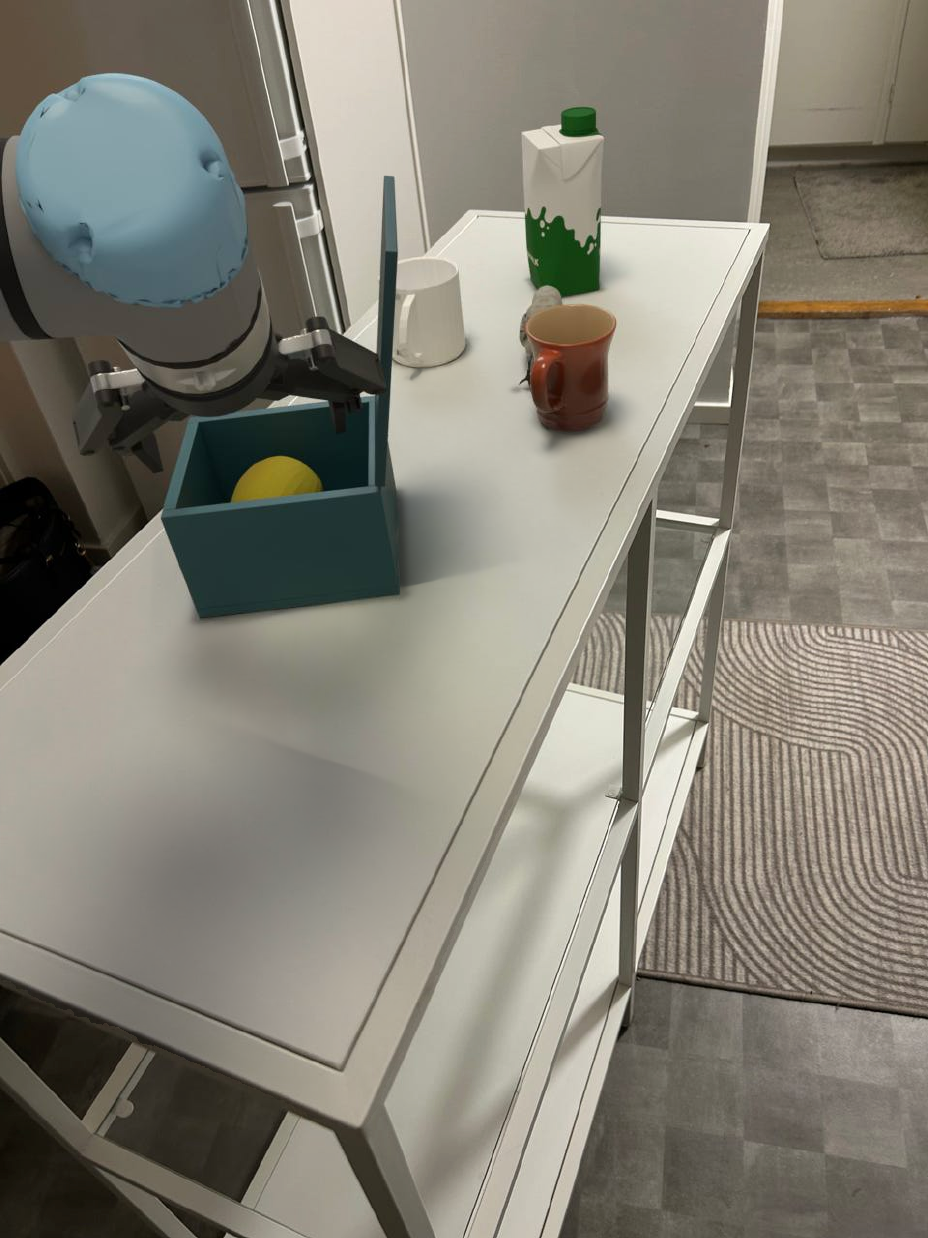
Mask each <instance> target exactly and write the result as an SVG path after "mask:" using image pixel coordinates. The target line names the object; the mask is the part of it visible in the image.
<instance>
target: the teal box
mask: <svg viewBox="0 0 928 1238" xmlns="http://www.w3.org/2000/svg"><path fill="white" fill-rule="evenodd" d="M360 398H361V402H362V406H363V410H362V411H361V412H358V413H354V414H348V411H347V410H345V423H346V432H345V433H340V434H336V432H335V428H334V424H333V419H332V415H331V411H330V407H329V403H328V401H326V400H324V401H319V402H310V403H309V402H308V403H300V404H294V405H293V404H292V405H284V406H276V407H275V406H274V407H269V408H268V407H267V408H259V409H258V408H257V409H251V410H250V409H249V410H240V411H237V412H234V413H231V414H228V415H224V416H218V417H200V416H192V417H189V418H188V421H187V425H186V428H185V431H184V435H183V440H182V442H181V446H180V449H179V452H178V456H177V459H176V463H175V466H174V469H173V473H172V477H171V480H170V484H169V487H168V490H167V493H166V497H165V501H164V504H163V508H162V511H161V516H160V520H161V523H162V526H163V528H164V531H165V533H166V536H167V538H168V542H169V544H170V546H171V549H172V552H173V554H174V556H175V559H176V561H177V564H178V566H179V570H180V572H181V574H182V577H183V580H184V582H185V584H186V587H187V590H188V593H189V594H190V597H191V600H192V602H193V605H194V608H195V610H196V612H197V615H198V618H199V619H202V618H203V619H205V618H212V617H221V616H229V615H230V616H231V615H237V614H245V613H255V612H264V611H271V610H281V609H289V608H297V607H307V606H315V605H323V604H331V603H340V602H341V603H342V602H348V601H359V600H366V599H375V598H385V597H391V596H399V595H400V594H401V591H400V590H401V588H400V587H401V586H400V553H399V552H400V551H399V548H400V547H399V519H398V491H397V486H396V479H395V473H394V466H393V461H392V456H391V450H390V445H389V444H390V443H388V446H387V465H386V483H385V487H379V486H375V395H369V396H368V395H367V396H360ZM275 456H285V457H290V458H293V459H295V460H298V461H300V462H302V463H304V464H305V465H307V466H308V467H309V468H310V469H312V470H313V471H314V473H315V474H316V475H317V476H318V478H319V479H320V481H321V484H322V486H323V491H324V492H317V493H308V494H300V495H291V496H283V497H274V498H266V499H257V500H249V501H240V502H232V503H231V499H232V495H233V493H234V490H235V488H236V485H237V483H238V481H239V480H240V478H241V477H242V476H243V475H244V473H245V472H246V471H247V470H248V469H250V468H251V467H252V466H253V465H254V464H256V463H258V462H260V461H262V460H264V459H267V458H270V457H275Z"/></svg>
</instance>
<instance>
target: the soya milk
mask: <svg viewBox="0 0 928 1238" xmlns="http://www.w3.org/2000/svg"><path fill="white" fill-rule="evenodd" d="M520 135H521V136H520V137H521V155H522V157H521V158H522V161H521V162H522V184H523V206H524V229H525V231H524V232H525V248H526V249H525V250H526V255H527V263H528V271H529V277H530V278H529V279H530V280H531V282H532V283H533V284H534V286H535V287H536V288H537V290H538V289H539V288H541V287H543V286H551V287H554V288H556V289H557V290H558V291H559V293H560V295H561V298H562V297H563V298H564V297H568V296H573V295H578V294H583V293H588V292H589V293H590V292H594V291H598V290H600V281H601V280H600V277H601V276H600V274H601V250H602V249H601V246H602V245H601V241H602V240H601V239H602V237H601V236H602V235H601V234H602V233H601V232H602V230H601V229H602V167H603V155H604V148H605V147H604V146H605V137H604V136H603V135H602V133H600V132H599V129H598V128H597V109H596V108H593V107H590V106H576V107H575V106H573V107H570V108H566V109H564V110H562V111H561V113H560V124H556V125H546V126H545V125H544V126H542V127H541V128H538V129H531V130H526V131H521V132H520Z"/></svg>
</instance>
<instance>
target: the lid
mask: <svg viewBox="0 0 928 1238" xmlns="http://www.w3.org/2000/svg"><path fill="white" fill-rule="evenodd" d="M395 180H396V179H395V176H393V175H383V187H382V188H383V189H382V206H381V207H382V210H381V211H382V212H381V233H380V234H381V235H380V257H379V258H380V259H379V273H380V279H379V281H378V307H377V326H376V328H377V330H376V351H375V353H376V354H378V356H379V360H380V364H381V368H382V372H383V376H384V380H385V384H386V388H387V390H386V391H385V392H384V393H382V394H380V395H374V396H375V486H379V487H385V483H386V465H387V446H388V444H389V426H390V410H391V409H390V407H391V388H392V370H393V369H392V368H393V357H392V354H393V336H394V317H395V299H396V281H397V262H398V261H399V260H398V259H399V243H398V225H397V223H398V222H397V221H398V220H397V204H396V203H397V202H396V181H395Z"/></svg>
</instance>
